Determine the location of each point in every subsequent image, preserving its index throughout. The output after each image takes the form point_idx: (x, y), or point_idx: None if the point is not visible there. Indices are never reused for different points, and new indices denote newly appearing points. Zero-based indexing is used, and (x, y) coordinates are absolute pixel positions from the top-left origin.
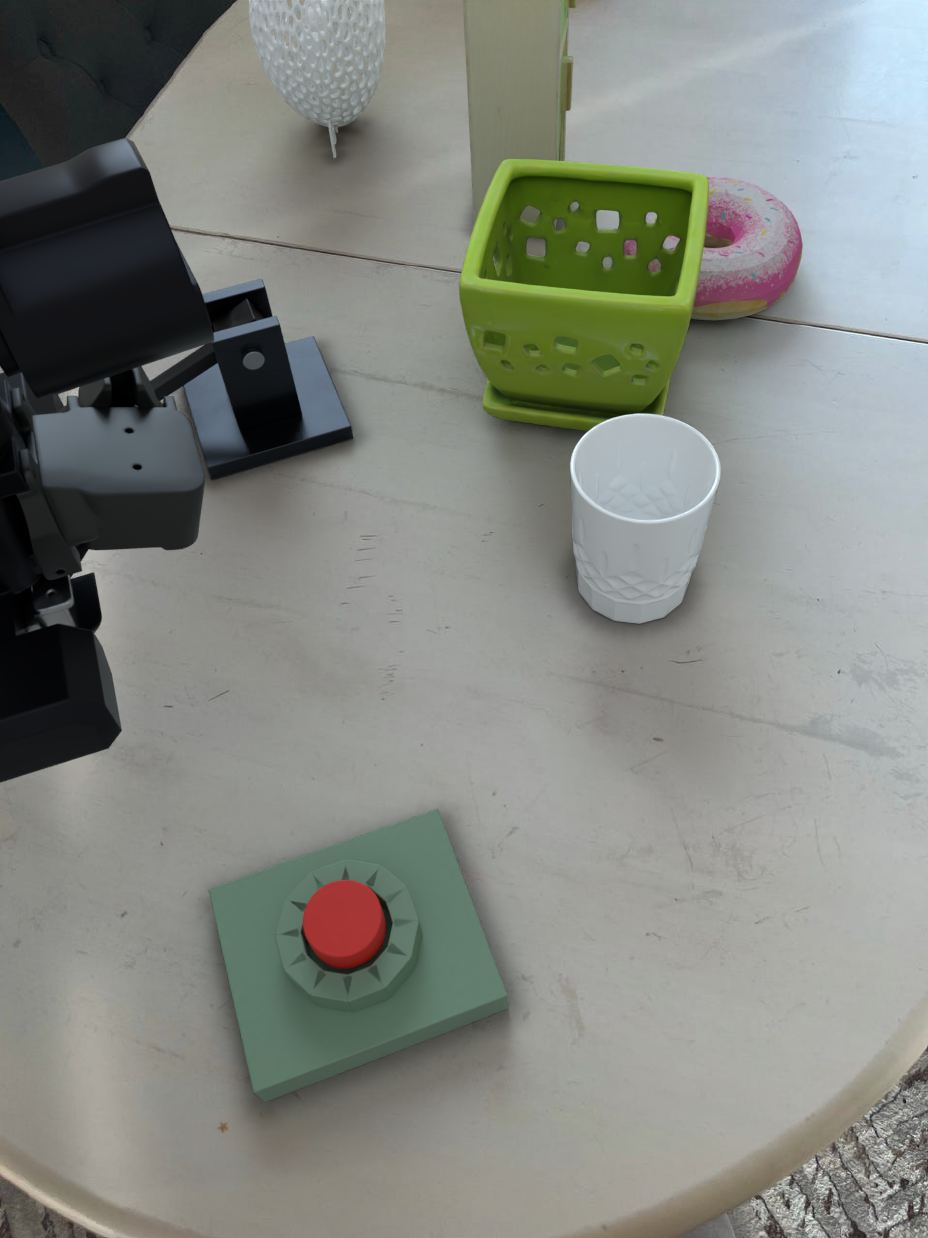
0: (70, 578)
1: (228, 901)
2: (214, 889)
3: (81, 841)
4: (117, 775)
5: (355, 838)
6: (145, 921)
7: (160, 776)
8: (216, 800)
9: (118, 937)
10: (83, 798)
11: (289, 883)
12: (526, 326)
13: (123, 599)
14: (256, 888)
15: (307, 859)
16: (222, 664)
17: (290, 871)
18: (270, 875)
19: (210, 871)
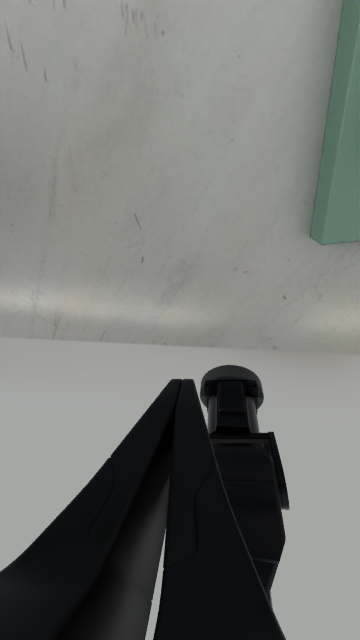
0: (82, 594)
1: (342, 229)
2: (325, 240)
3: (226, 316)
4: (187, 294)
5: (352, 75)
6: (295, 285)
7: (195, 269)
8: (225, 231)
9: (298, 301)
10: (198, 313)
11: (358, 168)
12: None
13: (58, 282)
14: (344, 203)
15: (345, 144)
16: (110, 216)
17: (347, 166)
18: (339, 188)
19: (280, 241)
